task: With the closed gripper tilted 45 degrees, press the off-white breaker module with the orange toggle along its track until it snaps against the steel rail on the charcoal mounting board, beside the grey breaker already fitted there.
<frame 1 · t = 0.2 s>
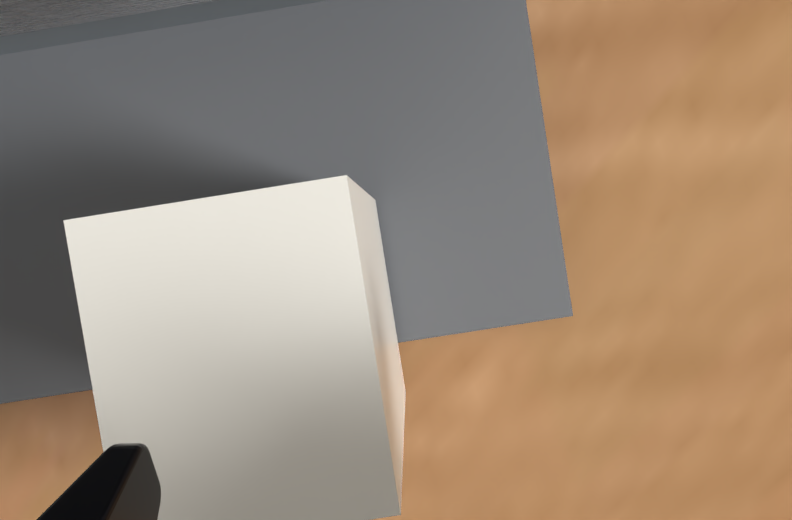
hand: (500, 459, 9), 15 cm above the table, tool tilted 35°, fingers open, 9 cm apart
mounting board: (291, 152, 24), on the table
breaker module: (285, 346, 18), point 6 cm above the table, slide at 5.0 cm
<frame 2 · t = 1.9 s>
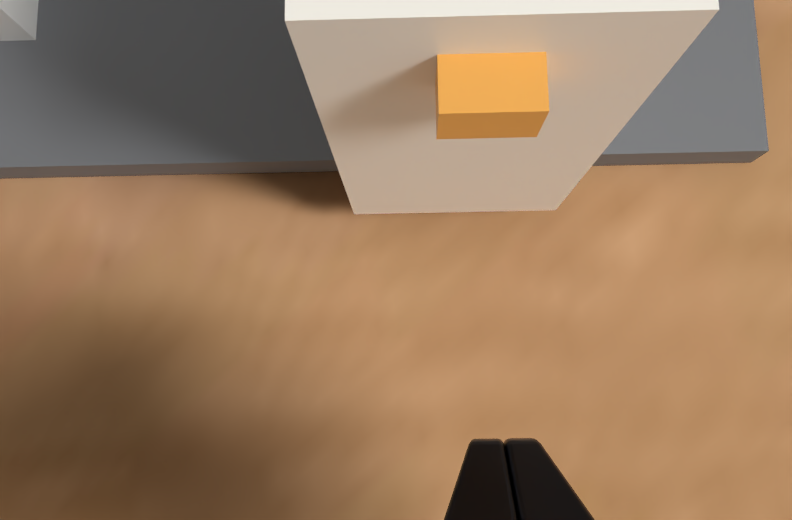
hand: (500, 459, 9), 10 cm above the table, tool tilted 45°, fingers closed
breaker module: (464, 16, 14), point 6 cm above the table, slide at 5.0 cm
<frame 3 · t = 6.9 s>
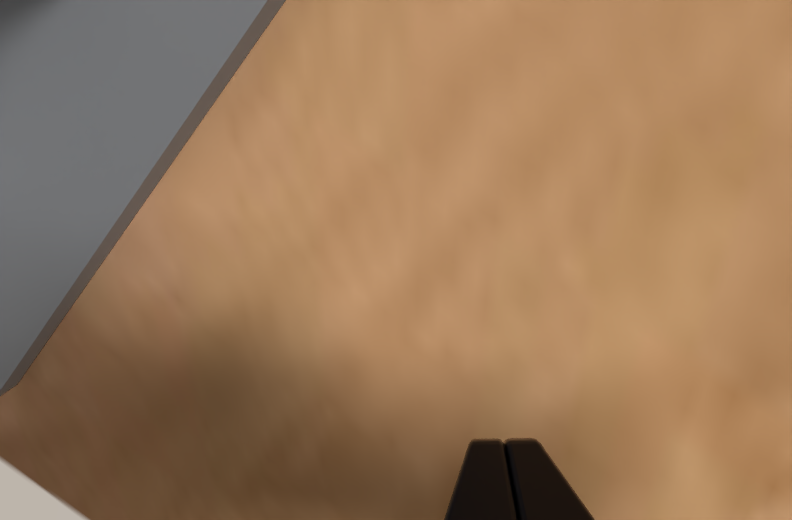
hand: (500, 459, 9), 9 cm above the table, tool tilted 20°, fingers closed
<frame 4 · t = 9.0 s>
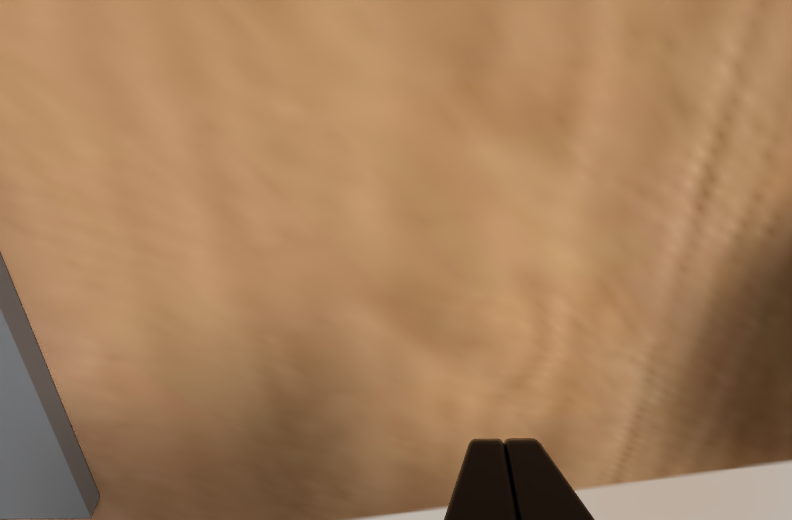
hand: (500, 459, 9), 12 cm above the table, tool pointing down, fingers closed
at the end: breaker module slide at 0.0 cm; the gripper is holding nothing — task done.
